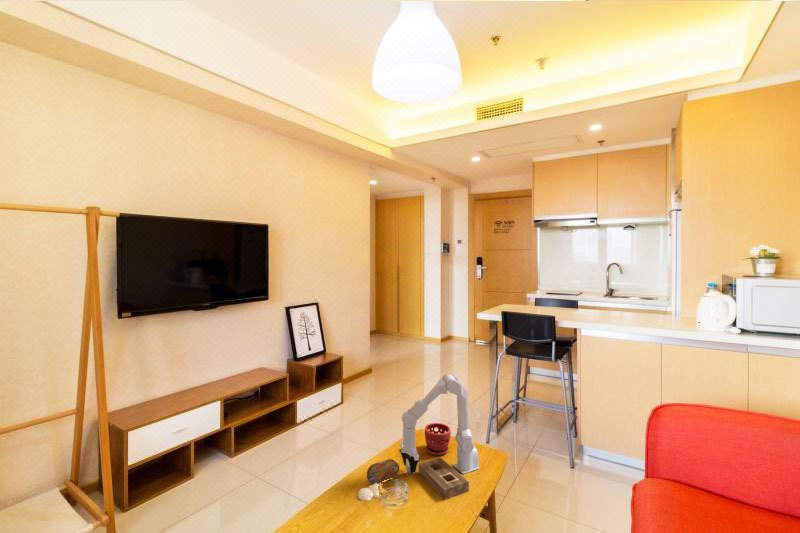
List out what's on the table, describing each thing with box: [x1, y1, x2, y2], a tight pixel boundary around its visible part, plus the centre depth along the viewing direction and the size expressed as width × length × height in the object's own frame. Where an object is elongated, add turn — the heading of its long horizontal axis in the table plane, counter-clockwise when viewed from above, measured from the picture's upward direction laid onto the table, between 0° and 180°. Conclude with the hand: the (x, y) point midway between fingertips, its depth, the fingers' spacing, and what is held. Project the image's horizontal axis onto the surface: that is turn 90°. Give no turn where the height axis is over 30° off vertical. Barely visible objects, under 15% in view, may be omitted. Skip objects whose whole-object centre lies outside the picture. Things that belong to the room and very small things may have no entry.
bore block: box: [417, 457, 470, 500], centre depth 164 cm, size 12×22×4 cm, turn 26°
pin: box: [405, 457, 414, 477], centre depth 170 cm, size 3×3×7 cm
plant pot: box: [424, 422, 451, 456], centre depth 189 cm, size 13×13×12 cm
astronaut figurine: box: [357, 483, 380, 502], centre depth 156 cm, size 9×12×3 cm
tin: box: [366, 458, 400, 485], centre depth 165 cm, size 15×3×8 cm, turn 116°
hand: (409, 468), depth 170 cm, fingers open, 6 cm apart
